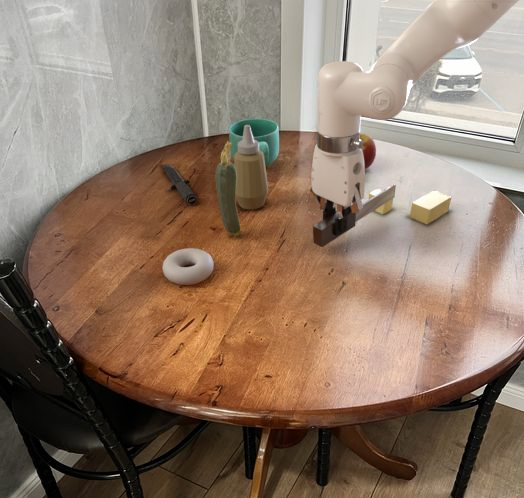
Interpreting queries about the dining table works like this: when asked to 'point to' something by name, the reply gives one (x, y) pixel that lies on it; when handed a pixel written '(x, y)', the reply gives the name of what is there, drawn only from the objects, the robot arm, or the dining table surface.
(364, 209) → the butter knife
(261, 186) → the squeeze bottle
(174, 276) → the donut
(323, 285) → the dining table surface
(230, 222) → the vegetable
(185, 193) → the knife
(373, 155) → the fruit
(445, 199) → the butter
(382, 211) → the butter slice
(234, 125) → the mug
